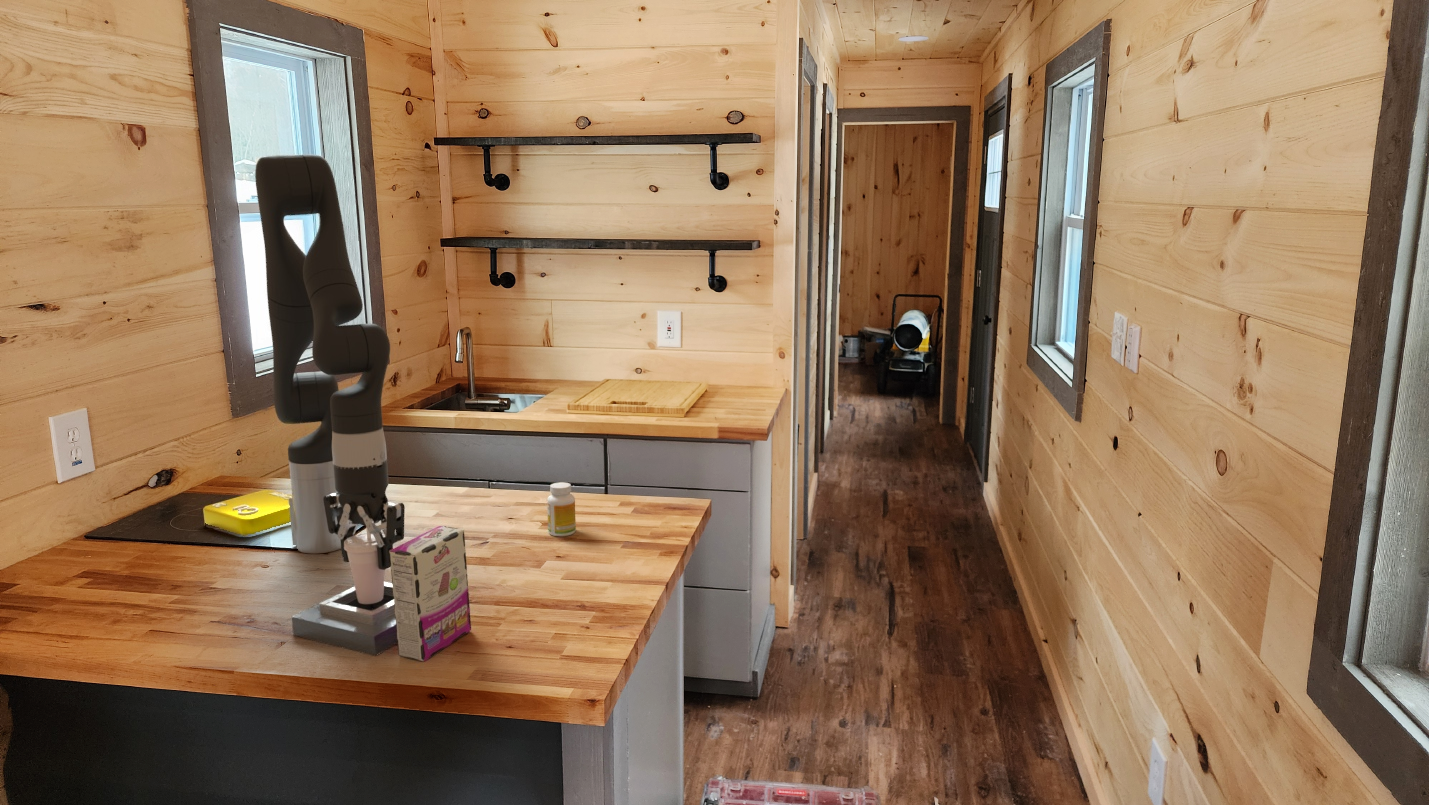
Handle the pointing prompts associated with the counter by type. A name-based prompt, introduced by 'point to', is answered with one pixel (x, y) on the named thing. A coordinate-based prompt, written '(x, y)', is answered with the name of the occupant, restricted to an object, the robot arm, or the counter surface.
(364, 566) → the smoothie
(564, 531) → the supplement bottle
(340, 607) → the grey square holder
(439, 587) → the candy bar box
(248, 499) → the element tile
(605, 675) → the counter surface
